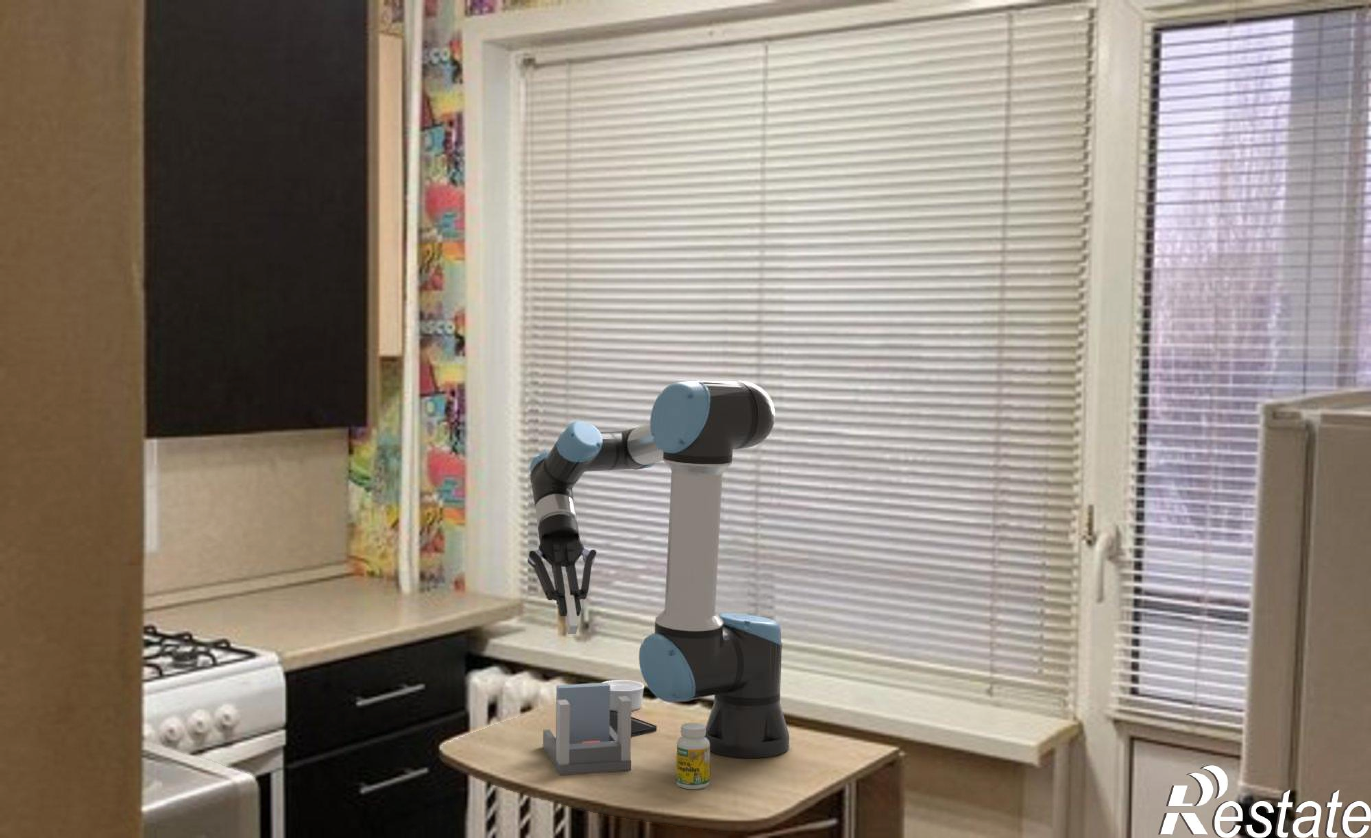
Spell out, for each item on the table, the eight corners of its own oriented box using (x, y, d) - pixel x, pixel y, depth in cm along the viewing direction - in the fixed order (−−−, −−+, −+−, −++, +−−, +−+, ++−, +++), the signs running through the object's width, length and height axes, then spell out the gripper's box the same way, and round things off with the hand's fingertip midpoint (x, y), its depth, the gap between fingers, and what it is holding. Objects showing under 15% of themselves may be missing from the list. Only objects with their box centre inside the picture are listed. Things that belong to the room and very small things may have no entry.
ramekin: (602, 699, 272) (602, 678, 272) (646, 701, 271) (647, 680, 271) (595, 711, 263) (595, 689, 263) (640, 713, 262) (641, 691, 262)
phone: (610, 708, 262) (659, 726, 251) (609, 714, 262) (659, 732, 251) (576, 715, 257) (625, 733, 246) (576, 721, 257) (625, 739, 246)
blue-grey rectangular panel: (555, 742, 236) (556, 685, 236) (606, 739, 239) (607, 682, 238) (557, 745, 234) (558, 688, 234) (609, 742, 237) (610, 685, 236)
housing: (542, 746, 240) (543, 681, 239) (610, 742, 243) (610, 678, 242) (559, 774, 224) (560, 705, 224) (631, 769, 228) (632, 701, 227)
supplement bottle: (714, 781, 222) (715, 723, 222) (702, 791, 217) (703, 732, 217) (683, 777, 224) (684, 719, 224) (670, 787, 219) (671, 728, 219)
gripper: (588, 535, 264) (605, 639, 249) (520, 536, 260) (534, 642, 245) (594, 511, 258) (612, 616, 243) (525, 512, 255) (539, 619, 240)
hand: (573, 629), depth 244 cm, fingers closed
